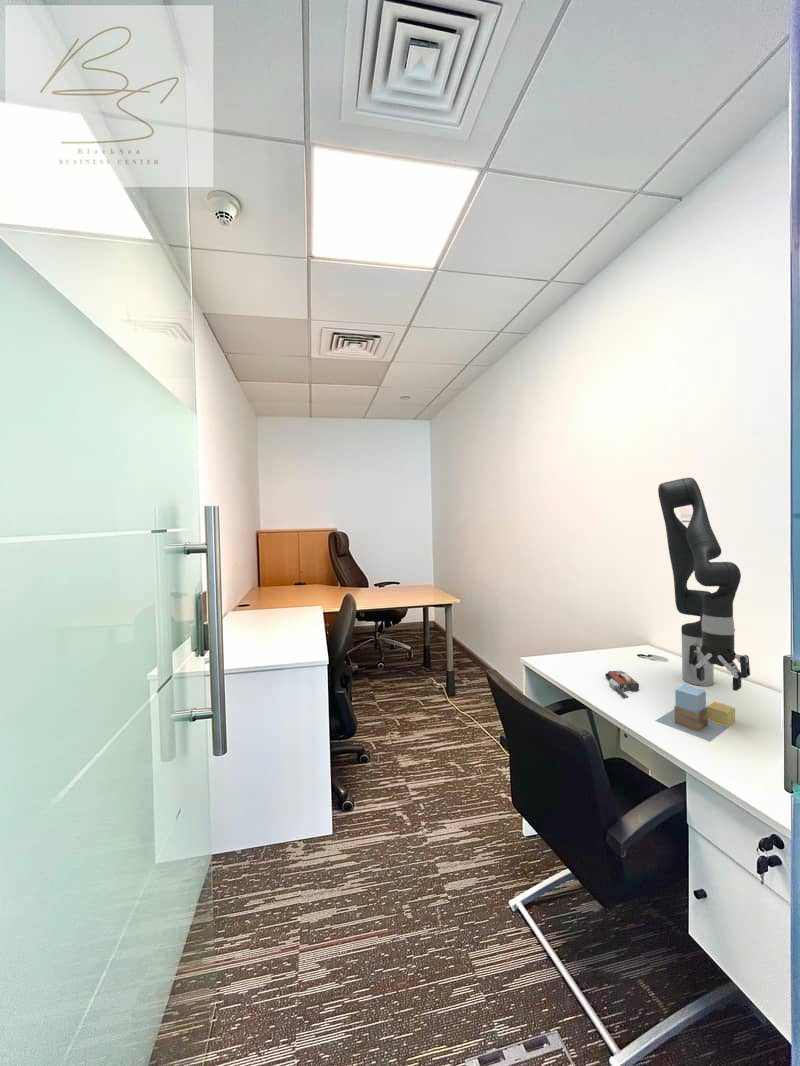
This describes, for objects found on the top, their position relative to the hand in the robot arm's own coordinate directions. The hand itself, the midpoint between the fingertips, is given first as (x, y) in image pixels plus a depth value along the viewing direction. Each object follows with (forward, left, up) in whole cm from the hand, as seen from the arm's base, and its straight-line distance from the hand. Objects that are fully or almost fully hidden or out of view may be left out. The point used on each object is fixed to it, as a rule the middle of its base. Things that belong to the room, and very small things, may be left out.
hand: (718, 685), depth 120 cm
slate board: (+9, -4, -12) cm, 15 cm away
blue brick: (+8, -4, -6) cm, 11 cm away
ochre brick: (0, 0, -12) cm, 12 cm away
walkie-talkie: (-2, -30, -12) cm, 32 cm away
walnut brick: (+9, -4, -10) cm, 14 cm away
